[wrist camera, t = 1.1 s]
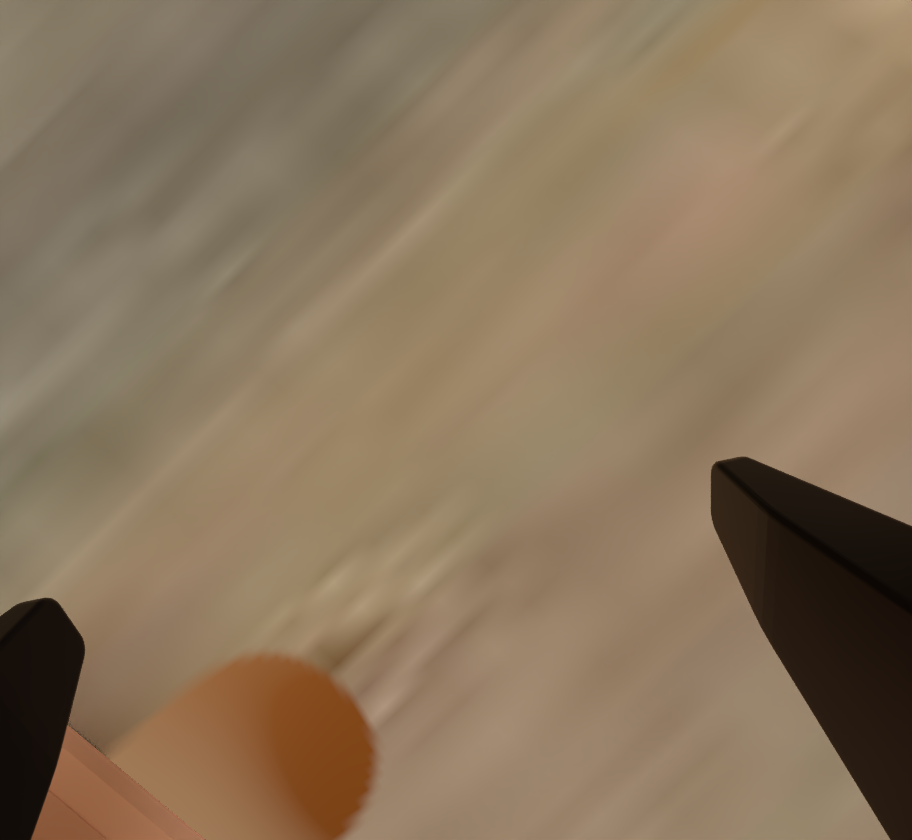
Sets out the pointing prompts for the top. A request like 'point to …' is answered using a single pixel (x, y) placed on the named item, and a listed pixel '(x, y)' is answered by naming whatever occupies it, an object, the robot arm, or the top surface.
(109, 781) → the trivet
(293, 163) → the top surface
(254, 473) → the top surface
